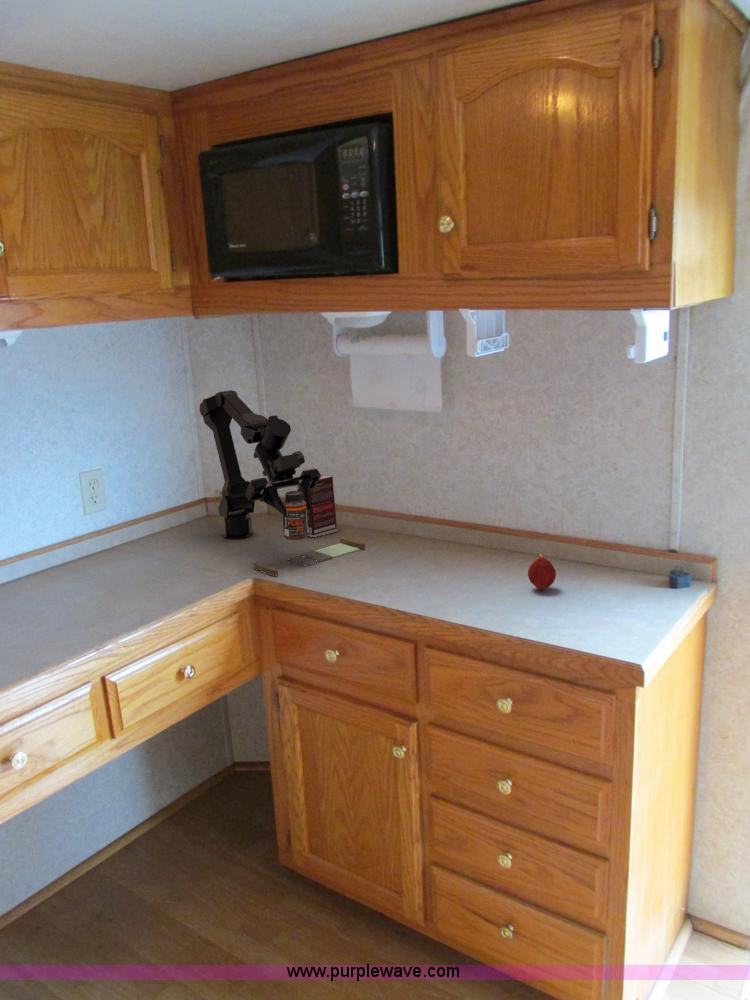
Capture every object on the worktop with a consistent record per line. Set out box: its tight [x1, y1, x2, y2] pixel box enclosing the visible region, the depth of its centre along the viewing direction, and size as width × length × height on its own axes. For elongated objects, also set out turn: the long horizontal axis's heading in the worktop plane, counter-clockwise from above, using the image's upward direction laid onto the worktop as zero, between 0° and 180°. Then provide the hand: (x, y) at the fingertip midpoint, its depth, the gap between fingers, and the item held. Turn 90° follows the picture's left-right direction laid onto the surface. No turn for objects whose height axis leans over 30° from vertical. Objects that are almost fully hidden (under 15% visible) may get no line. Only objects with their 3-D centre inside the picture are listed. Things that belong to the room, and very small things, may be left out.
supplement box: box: [307, 474, 338, 538], centre depth 228 cm, size 9×5×16 cm, turn 130°
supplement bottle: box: [282, 490, 308, 541], centre depth 202 cm, size 6×6×11 cm
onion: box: [527, 553, 557, 591], centre depth 176 cm, size 6×6×8 cm
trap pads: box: [287, 551, 333, 567], centre depth 207 cm, size 8×8×1 cm
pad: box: [314, 542, 361, 559], centre depth 213 cm, size 9×8×1 cm
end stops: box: [252, 536, 366, 576], centre depth 207 cm, size 28×9×2 cm, turn 131°
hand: (297, 512), depth 200 cm, fingers closed on supplement bottle, 6 cm apart
